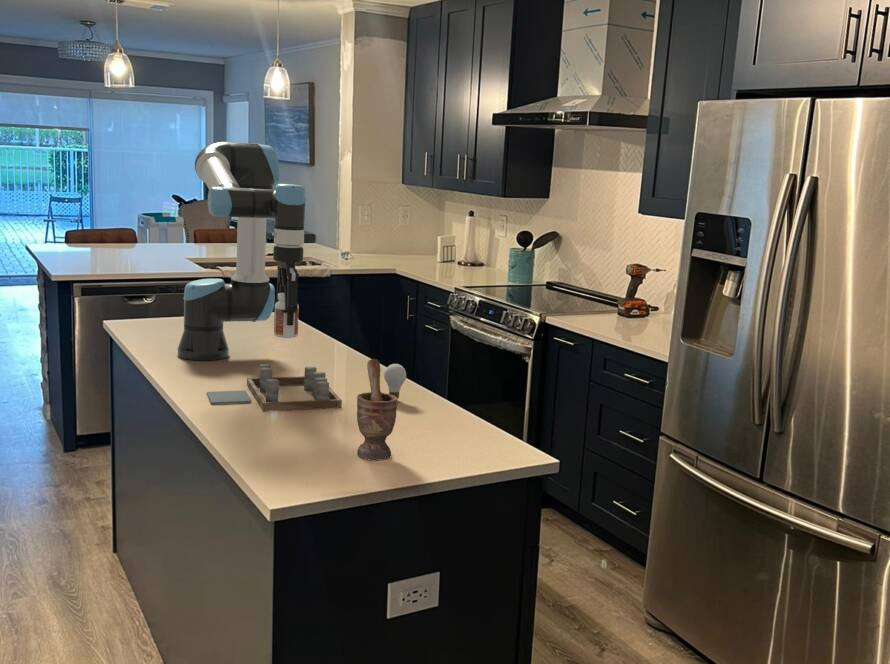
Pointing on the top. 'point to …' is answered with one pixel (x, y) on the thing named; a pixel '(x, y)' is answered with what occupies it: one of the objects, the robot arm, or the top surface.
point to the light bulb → (395, 378)
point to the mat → (228, 397)
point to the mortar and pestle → (375, 416)
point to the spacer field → (310, 380)
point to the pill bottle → (282, 317)
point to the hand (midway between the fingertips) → (285, 334)
